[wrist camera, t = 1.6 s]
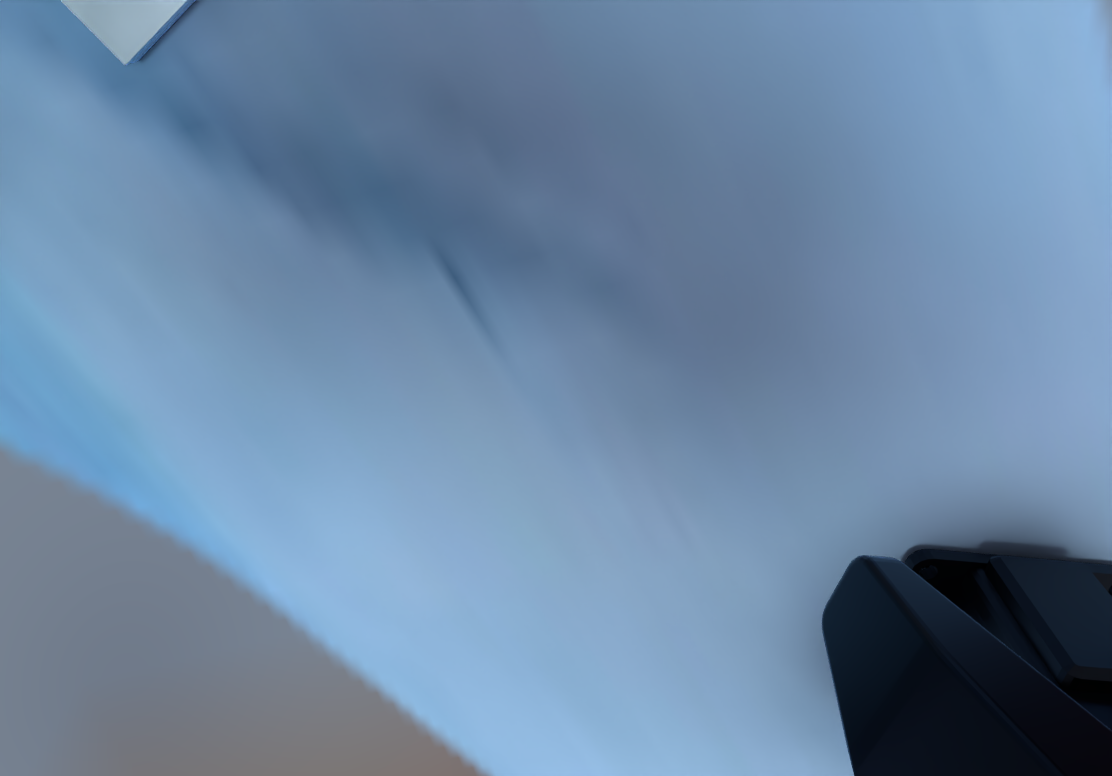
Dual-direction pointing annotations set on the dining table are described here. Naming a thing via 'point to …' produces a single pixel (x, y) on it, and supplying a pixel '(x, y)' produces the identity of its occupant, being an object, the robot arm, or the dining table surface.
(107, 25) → the plate
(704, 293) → the dining table surface
